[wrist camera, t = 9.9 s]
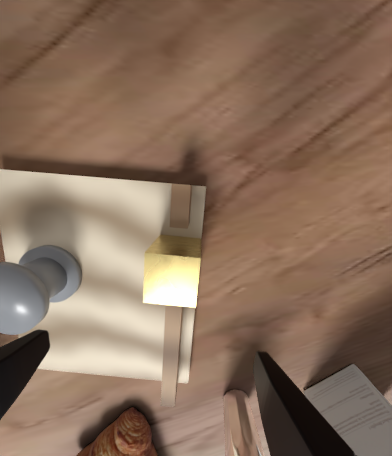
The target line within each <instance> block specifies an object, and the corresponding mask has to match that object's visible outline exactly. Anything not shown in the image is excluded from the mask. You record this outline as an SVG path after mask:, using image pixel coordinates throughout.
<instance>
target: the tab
mask: <svg viewBox="0 0 392 456" xmlns="http://www.w3.org/2000/svg"><path fill="white" fill-rule="evenodd" d="M200 262H201V238H191V237H181V236H171V235H159V237H158V238H157V239H156V240H155V241H154V242H153V243H152V245H151V246H150V247H149V248H148V249H147V250H146V252H145V254H144V288H143V302H144V303H154V304H164V305H174V306H183V307H193V308H196V301H197V291H198V281H199V272H200Z"/></svg>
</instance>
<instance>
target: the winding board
mask: <svg viewBox="0 0 392 456" xmlns="http://www.w3.org/2000/svg"><path fill="white" fill-rule="evenodd" d="M205 193H206V186H195V185H184V184H171V183H159V182H147V181H135V180H123V179H111V178H99V177H87V176H76V175H64V174H52V173H40V172H28V171H16V170H4V169H0V230H1V236H2V242H3V248H4V254H5V261H6V262H12V263H16V264H19V261H20V259H21V257H22V256H23V255H24V254H25V253H26V252H27V251H29V250H31V249H34V248H37V247H39V246H43V245H54V246H58V247H61V248H63V249H65V250H67V251H68V252H69V253H71V254H72V255H73V256H74V257H75V258H76V260H77V261H78V263H79V265H80V267H81V270H82V282H81V285H80V287H79V289H78V290H77V291H76V292H75V293H74V294H73V295H72V296H70V297H69V298H68V299H66V300H64V301H61V302H55V303H53V302H50V304H49V310H48V313H47V315H46V316H45V318H44V319H43V320H42V321H41V322H39V323H38V324H37V325H36V326H35V327H33V328H32V329H31V330H29V331H27V332H25V333H22V334H18V338H21V337H23V336H25V335H27V334H29V333H31V332H33V331H35V330H39V329H40V330H47V331H48V332H49V339H50V349H49V351H48V353H47V354H46V356H45V357H44V359H43V360H42V362H41V363H40V365H39V366H38V368H37V369H45V370H55V371H65V372H76V373H86V374H96V375H106V376H117V377H127V378H137V379H148V380H158V381H162V386H161V406H168V407H175V400H176V392H177V383H178V382H179V383H188V378H189V368H190V357H191V346H192V335H193V324H194V313H195V308H193V307H183V306H174V305H164V304H154V303H144V302H143V288H144V254H145V252H146V250H147V249H148V248H149V247H150V246H151V245H152V243H153V242H154V241H155V240H156V239H157V238H158V237H159V235H171V236H181V237H191V238H201V237H202V226H203V215H204V204H205Z"/></svg>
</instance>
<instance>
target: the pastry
mask: <svg viewBox="0 0 392 456" xmlns="http://www.w3.org/2000/svg"><path fill="white" fill-rule="evenodd" d="M151 437H152V434H151V428H150V425H149V423H148V422H147V420H146V418H145V416H144V414H142V413H140V412H139V411H137V409H136V408H135V407H131V408H129V409H127V410H125V411H124V412H123V413H122V414H121V415H120V416H119V417H118V418H117V419H116V420H115V421H114V422H113V423H111V424H110V425H109V426H108V427H107V428H106V429H105V430H104V431H102V432H101V433H100V434H99V435H98V437H97V438H96V440H95V441H93V442H92V443H90V444H89V445H88V446H86V447H85V448H84V449H83V450H82V451H81V452H79V453H78V455H77V456H158V455H157V452H156V449H155V447H154V444H153V443H152V441H151Z"/></svg>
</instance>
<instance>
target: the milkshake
mask: <svg viewBox="0 0 392 456" xmlns="http://www.w3.org/2000/svg"><path fill="white" fill-rule="evenodd" d="M223 408H224V434H225V456H265V454H264V451H263V448H262V444H261V441H260V437H259V434H258V430H257V427H256V423H255V420H254V416H253V413H252V409H251V406H250V402H249V399H248V395H247V394H245V393H244V392H243V391H242V390H236V389H234V390H231V391H228V392H227V393H226V394H225V395H224V397H223Z"/></svg>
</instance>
